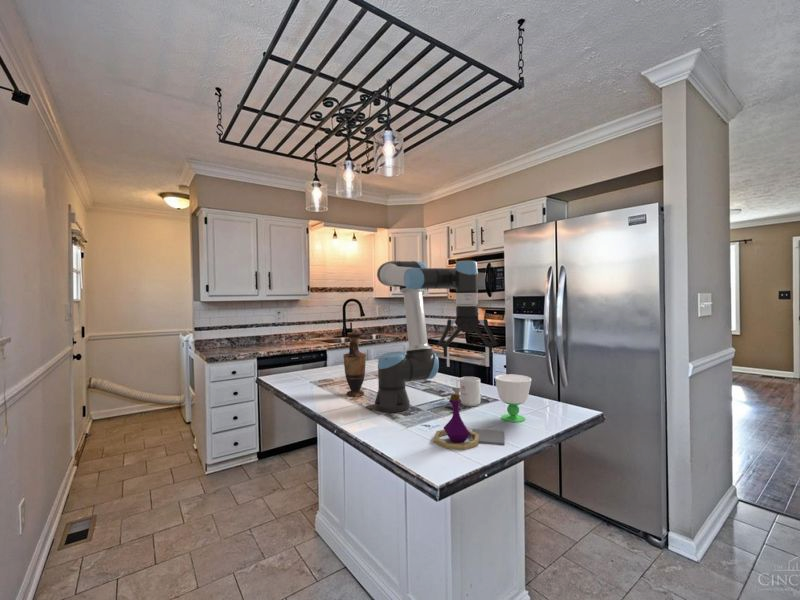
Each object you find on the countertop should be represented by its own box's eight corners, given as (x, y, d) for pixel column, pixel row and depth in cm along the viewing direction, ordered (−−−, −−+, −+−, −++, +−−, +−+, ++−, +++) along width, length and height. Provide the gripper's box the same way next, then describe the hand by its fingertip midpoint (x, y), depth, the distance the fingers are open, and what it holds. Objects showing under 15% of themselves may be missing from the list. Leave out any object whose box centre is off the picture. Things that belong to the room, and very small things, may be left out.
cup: (488, 419, 153) (488, 378, 152) (504, 410, 163) (504, 372, 163) (523, 427, 144) (522, 383, 143) (537, 417, 154) (537, 377, 154)
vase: (350, 391, 198) (349, 331, 197) (370, 392, 194) (369, 332, 193) (340, 396, 188) (338, 333, 187) (360, 398, 184) (359, 334, 183)
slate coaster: (470, 442, 130) (470, 440, 130) (472, 430, 141) (472, 428, 141) (504, 444, 128) (504, 443, 128) (504, 432, 138) (504, 431, 138)
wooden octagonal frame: (431, 446, 127) (431, 442, 127) (438, 431, 141) (438, 426, 141) (477, 450, 123) (477, 446, 123) (479, 434, 137) (479, 430, 137)
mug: (484, 404, 173) (484, 378, 173) (471, 408, 167) (471, 382, 167) (463, 398, 182) (463, 374, 182) (450, 402, 176) (450, 377, 176)
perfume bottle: (443, 436, 135) (442, 384, 135) (464, 435, 136) (464, 384, 136) (447, 445, 128) (447, 390, 127) (470, 444, 129) (470, 389, 128)
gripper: (431, 306, 134) (432, 368, 135) (505, 305, 133) (506, 368, 133) (430, 305, 142) (431, 364, 142) (501, 304, 140) (501, 363, 141)
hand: (467, 366), depth 138 cm, fingers open, 13 cm apart
